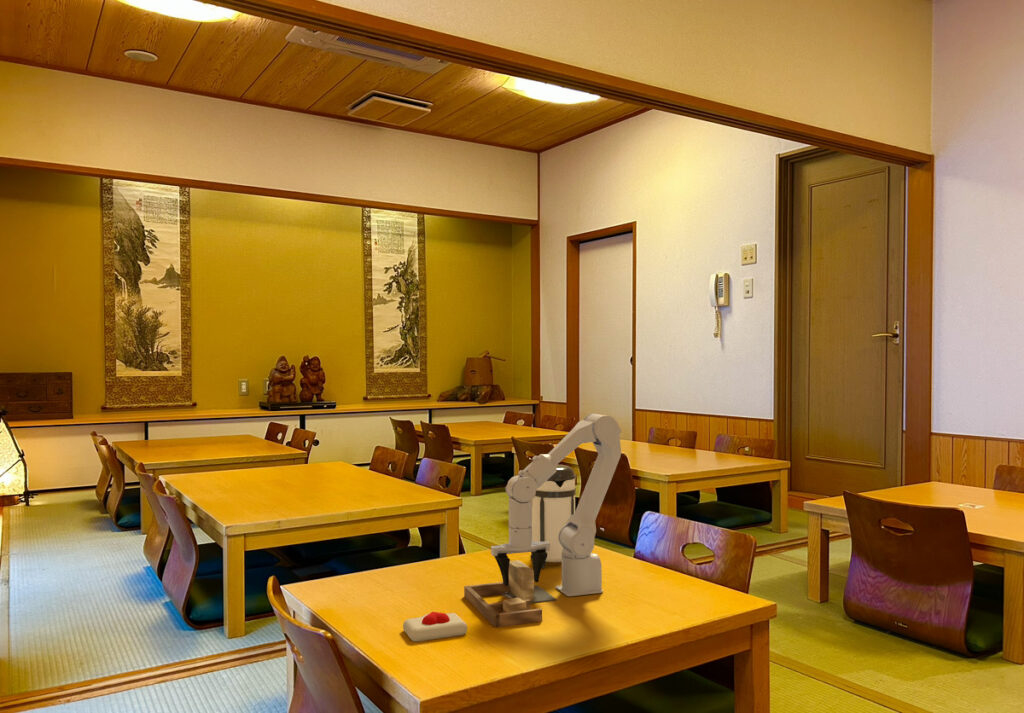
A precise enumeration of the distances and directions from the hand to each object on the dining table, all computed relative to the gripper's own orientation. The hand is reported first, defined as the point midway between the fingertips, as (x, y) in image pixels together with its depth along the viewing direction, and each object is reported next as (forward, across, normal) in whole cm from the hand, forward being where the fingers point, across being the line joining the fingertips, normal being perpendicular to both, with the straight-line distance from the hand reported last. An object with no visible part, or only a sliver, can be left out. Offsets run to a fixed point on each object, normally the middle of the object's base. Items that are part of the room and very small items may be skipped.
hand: (520, 582), depth 185 cm
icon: (+4, +26, +16) cm, 30 cm away
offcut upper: (+2, +7, +14) cm, 16 cm away
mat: (+3, -2, 0) cm, 4 cm away
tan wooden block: (+3, 0, 0) cm, 3 cm away
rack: (+3, +7, +7) cm, 10 cm away
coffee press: (+3, -19, -27) cm, 33 cm away
